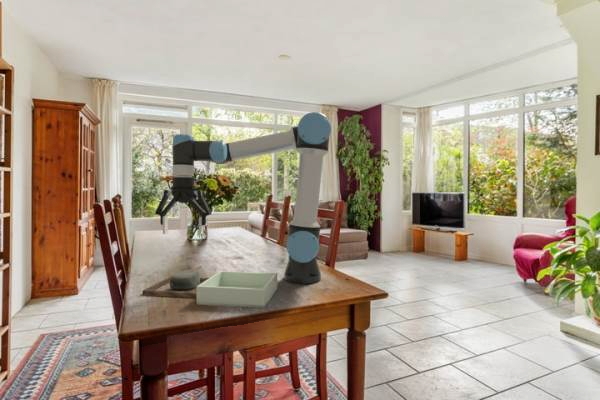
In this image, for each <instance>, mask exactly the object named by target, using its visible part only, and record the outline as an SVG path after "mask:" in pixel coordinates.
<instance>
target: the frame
mask: <svg viewBox="0 0 600 400" xmlns="http://www.w3.org/2000/svg"><path fill="white" fill-rule="evenodd" d="M171 277H172V275H171V276H169V277H167V278H165V279H163V280H161V281H159V282H157V283H155V284H153V285H151V286H149V287H147V288H145V289H143V290H142V295H143V296H158V297H160V296H161V297H174V298H175V297H176V298H178V297H179V298H193V299H194V298H195V299H197V291H193V292H192V291H180V290H158V289H159V288H161V287H164V286H165V285H167V284H168V283H169V284H170V279H171ZM209 278H210V277H201V276H200V283H203V282H204V281H206V280H207V279H209Z"/></svg>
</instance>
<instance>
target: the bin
mask: <svg viewBox="0 0 600 400" xmlns="http://www.w3.org/2000/svg"><path fill="white" fill-rule="evenodd" d="M208 278H209V279H207V280H206V281H204V282H200V285H198V286H197V288H196V292H197V298H196V305H197V306H198V305H199V306H200V305H201V306H216V307H233V308H252V309H253V308H254V309H255V308H256V309H265V307H266V306H267V305H268V303H269V301H271V299H272V297H273V296H274V295H275V293H276V291H277V290H278V273H275V272H274V273H273V272H251V271H232V270H231V271H228V270H220V271H218V272H216V273H214V274H213V275H212V276H210V277H208Z"/></svg>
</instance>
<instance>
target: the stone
mask: <svg viewBox="0 0 600 400" xmlns="http://www.w3.org/2000/svg"><path fill="white" fill-rule="evenodd" d="M171 276H172V277H171ZM171 276H170V277H171V279H170V282H169V287H170V289H171V290H172V291H185V290H187V291H188V290H192V289H193V290H194V289H197V286H198V285H200V284H201V282H200V277H201V276H200V274H199V272H198V270H196V269H192V268H191V269H190V268H189V269H183V270H180V271H177V272H176V273H174V274H172V275H171Z"/></svg>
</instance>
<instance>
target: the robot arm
mask: <svg viewBox="0 0 600 400" xmlns="http://www.w3.org/2000/svg"><path fill="white" fill-rule="evenodd" d="M331 134H332V125H331V121H330V119H328V117H327V116H326V115H325V114H323V113H321V112H318V111H312V112H308V113H306V114H305V115H303V116H302V117H301V118H300V120H299V122H298V124H297V126H294V127H291V128H290V129H289V130H286V131H281V132H276V133H271V134H267V135H260V136H256V137H250V138H246V139H241V140H237V141H236V140H235V141H232V142H227V143H226V142H225V141H223V140H217V139H216V140H215V139H214V140H195V137H194V135H191V134H182V133H181V134H179V133H178V134H175V135H173V137H172V146H171V147H172V176H173V177H172V190H170V189H164V190H163V196H162V198H161V200H160V201H159V204H158V205H157V207H156V210H155V212H154V213H155V215H157V216H159V217H160V219H159V220H160V221H159V222H160V225H161V226H162V234H163V235H166V234H168V233H169V218H168V217H169V215H167V214H168V213H169V212H170V211H171V210H172V208H173V207H174V206H175V205H176V204H177V203H190V204H191V205H192V207H194V209H195V210H196V212H197V213H198V214H199V215H200V216H199V217H198V221H199V222H198V223H199V224H198V232H199V233H198V234H199V236H200V235H204V231H205V230H204V229H205V227H204V226H206V225H207V217H208V216H210V215H212V211H211V208H209V205H208V204H207V201H206V199H205V197H204V193H203V190H202V189H198V190H195V178H194V176H195V162H209V163H210V162H211V163H215V164H216V165H225V164H227V163H230V162H234V161H239V160H245V159H250V158H256V157H260V156H266V155H270V154H275V153H276V154H277V153H280V152H286V151H291V150H294V151H295V152H298V154H299V161H298V170H297V171H298V173H297V183H296V192H295V193H296V194H295V202H294V213H293V219H292V220H290V222H289V223H288V230H287V231H288V232H287V241H286V244H285V249H286V252H287V255H288V261H287V264H286V268H285V269H284V275H283V279H284V281H286V282H288V283H293V284H303V285H304V284H312V283H317V282H318V283H319V282H320V281H321V280H322V279H321V278H322V273H321V270H320V266H319V264H318V253H319V251H320V234H321V233H320V232H321V225H320V223H319V222H318V215H319V214H318V210H319V203H320V193H321V183H322V172H323V163H324V157H325V156H326V155H327V154H328V153H329V145H330V137H331ZM171 195H172V196H173V198H171V200H170V201H169V202H168V204H167V201H168V199H169V197H170V196H171ZM194 196H197V198H198V200H199V202H200V205H201V206H200V205H199V203H198V202H197V201H196V199H195V197H194ZM166 204H167V205H166ZM165 205H166V206H165Z"/></svg>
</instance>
